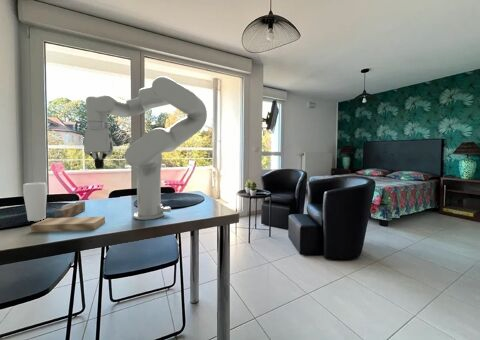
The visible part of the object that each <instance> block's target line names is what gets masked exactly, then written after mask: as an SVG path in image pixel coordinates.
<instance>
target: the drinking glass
mask: <svg viewBox="0 0 480 340" xmlns="http://www.w3.org/2000/svg"><path fill="white" fill-rule="evenodd" d="M47 187H48V186H47V182H45V181H44V182H43V181H42V182H40V181H38V182H28V183H23V185H22V192H23V199H24V204H25V211H26V216H27V221H28V222H30V221H34V222H40V220H41V221H42V220H43V219H47V218H46V217H47V213H46V212H47V211H46V209H47V197H48V196H47V194H48V192H47V191H48V188H47Z"/></svg>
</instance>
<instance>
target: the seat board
mask: <svg viewBox="0 0 480 340" xmlns="http://www.w3.org/2000/svg"><path fill="white" fill-rule="evenodd" d="M105 223H106V216H80V217H79V216H77V217H74V216H72V217H70V218H55V217H47V218H45V219H44V220H41V221H36V223H32V224H31V225H30V232H31V233H47V232H49V233H50V232H71V231H72V232H74V231H75V232H76V231H77V232H78V231H95V230H97V229H98V228H100V227H101V226H103V225H104V224H105Z"/></svg>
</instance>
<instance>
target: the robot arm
mask: <svg viewBox="0 0 480 340" xmlns="http://www.w3.org/2000/svg"><path fill="white" fill-rule="evenodd" d="M137 93H138V94H137V95H138V96H137V97H136V98H132V99H127V100H123V99H120V98H118V97H115V96H113V95H102V96H88V97H86V99H85V110H86V111H85V112H86V127H87V129H86V128H85V131H84V135H83V136H84V138H83V150H84V155H85V156H90V157H91V158H93V160H94V167H95V169H96V170H98V169H99V170H100V169H101V170H102V169H103V168H104V167H105V162H104V160H105V159H106V158H107V157H108V156H112V155H113V151H114V144H113V143H114V142H113V137H112V133H111V130H110V128H111V127H112V125H111V124H110V123H109V122H108V121H109V120H108V115H112V116H116V117H120V118H130V117H134V116H138V115H141V114H143V113H145V112H146V111H148V110H150V109H155V108H159V107H163V106H168V105H170V106H173V107H174V108H175V109H177V110H179V111H180V112H182V113H184V114H185V115H186V116H185V117H183V118H181V119H180V120H177V121H176V122H175V123H174V124H172V125H171V126H169V127H168V128H163V127H156V128H153V129H151V130H149V131H148V132H146V133H145V134H144V135H142V136H141V137H139V138H138V139H137V140H135V141H134V142H133V143H131V144H130V145H129V146H128V147H127V148H126V150H125V152H124V159H125V162H126V164H128V165H129V166H131V167H133V168H137V175H136V197H137V199H136V200H137V206H136V207H137V211H136V212H134V214H133V218H134V219H136V220H140V221H141V220H143V221H147V220H157V219H159V218H162V217H164V216H165V213H171V212H172V207H170V206H163V203H162V199H161V196H162V195H161V180H162V179H161V175H162V173H161V171H162V162H163V155H162V153H170V152H171V153H172V152H174V151H175V150H176V149H178V147H180V146H181V145H183V144H184V143H186V141H188V140H189V139H191V138H192V137H193V136H195V135H196V134H198V133H199V132H200V131H201V130H202V129H203V127H204V126H205V124H206V121H207V118H208V117H207V116H208V114H207V113H208V111H207V107H206V105H205V103H204V102H203V100H202V99H201V98H200V97H199V96H198V95H197V94H196V93H194V92H193V91H191V90H190V89H188V88H186V87H185V86H183V85H182V84H180V83H178V82H177V81H175V80H173V79H171V78H170V77H168V76H165V75H161V76H158V77H156V78H154V80H153V81H152V83H151V86H147V87H141V88H140V89H139V90H138V92H137Z"/></svg>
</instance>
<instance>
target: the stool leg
mask: <svg viewBox="0 0 480 340" xmlns="http://www.w3.org/2000/svg"><path fill="white" fill-rule="evenodd" d="M85 211H86V202H85V201H76V202H74V203H73V204H71V205H69V206H66V207H64V208H62V207H61V208H58V209H55V210H53V212H54V218H71V217H74V216H76V215H78V214H81V213H82V212H85Z"/></svg>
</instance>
